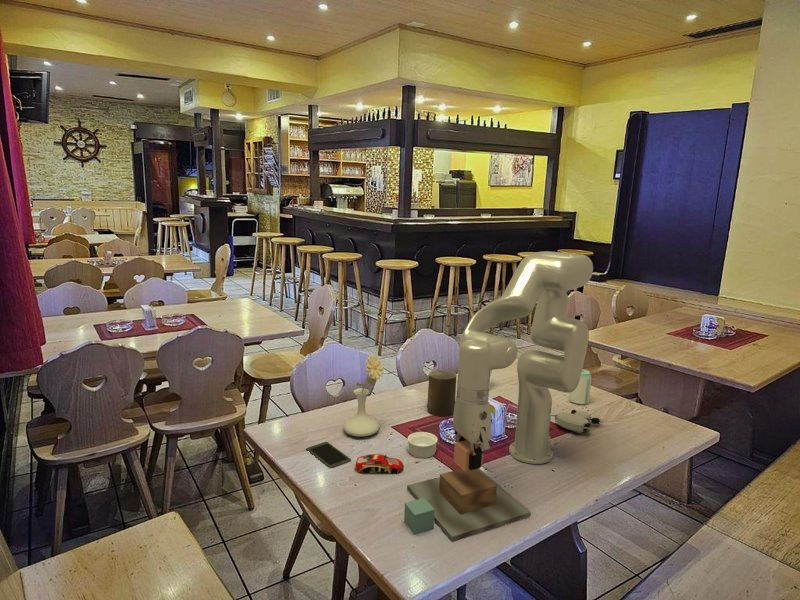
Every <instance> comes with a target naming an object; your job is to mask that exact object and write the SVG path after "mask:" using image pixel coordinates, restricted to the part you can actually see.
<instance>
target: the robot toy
mask: <svg viewBox="0 0 800 600" xmlns="http://www.w3.org/2000/svg"><path fill="white" fill-rule="evenodd" d="M551 417H555V418H554V420H555V423H556V424H557V425H558V426H560V427H562V428H563V429H566V430H569V431H572V432H575V434H581V433H583V432H586V431H589V430H591V424H593V425H599V424H601V423H603V422H604V420H603V419H601V418H599V417H592V413H589V412H588V411H584V410H578V411H577V410H576V409H571V411H570V412H568V411H566V412H564V411H562V412H559V413H557V414H555V415H554V414H551Z"/></svg>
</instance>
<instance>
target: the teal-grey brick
mask: <svg viewBox="0 0 800 600" xmlns="http://www.w3.org/2000/svg"><path fill="white" fill-rule="evenodd" d="M403 518H404V519H403V521H404V523H405V525H406V526H407V527H408V529H409V530H410V532H411V533H412V534H413V535H417V534H420V533H421V534H422V533H424V532H428V531H431V530H433V529H434V528H435V526H434V525H435V521H434V509H433V507H432V506H431V505H430V504H429V503H428V502H427V501H426V500H425V499H424V498H421V499H417V500H416V499H414V500H411V501H407V502H404V517H403Z"/></svg>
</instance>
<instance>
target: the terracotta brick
mask: <svg viewBox="0 0 800 600" xmlns="http://www.w3.org/2000/svg"><path fill="white" fill-rule="evenodd" d="M478 447H479V445H478V444H476V445H475V449H476V448H478ZM453 452H454V453H453V462H454V463H455V464H456V465H457V466H459V468H460V469H463V470H464V471H468V470H470V469H469V454H471V445H470V442H469V441H468V440H465V441H460V442H456V441H455V442H454V451H453ZM483 462H484V453H483V454H482V459H481V468H483Z"/></svg>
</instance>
